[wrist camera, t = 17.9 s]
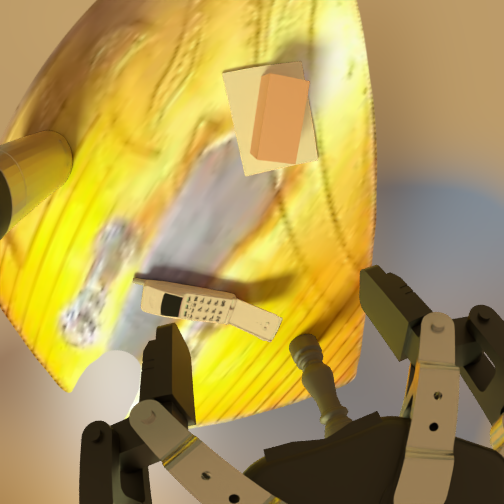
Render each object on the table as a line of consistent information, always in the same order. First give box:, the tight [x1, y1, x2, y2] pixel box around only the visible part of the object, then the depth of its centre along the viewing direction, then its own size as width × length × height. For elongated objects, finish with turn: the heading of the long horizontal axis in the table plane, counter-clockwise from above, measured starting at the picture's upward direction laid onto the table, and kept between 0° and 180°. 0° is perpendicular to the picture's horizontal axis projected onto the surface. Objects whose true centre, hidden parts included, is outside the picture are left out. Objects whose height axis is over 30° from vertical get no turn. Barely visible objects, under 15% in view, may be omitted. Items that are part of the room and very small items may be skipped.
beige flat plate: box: [222, 61, 318, 176], centre depth 38 cm, size 11×15×1 cm
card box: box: [250, 73, 310, 164], centre depth 36 cm, size 11×5×5 cm, turn 171°
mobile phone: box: [133, 278, 282, 342], centre depth 49 cm, size 6×6×25 cm
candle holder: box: [289, 334, 352, 438], centre depth 50 cm, size 6×6×25 cm
